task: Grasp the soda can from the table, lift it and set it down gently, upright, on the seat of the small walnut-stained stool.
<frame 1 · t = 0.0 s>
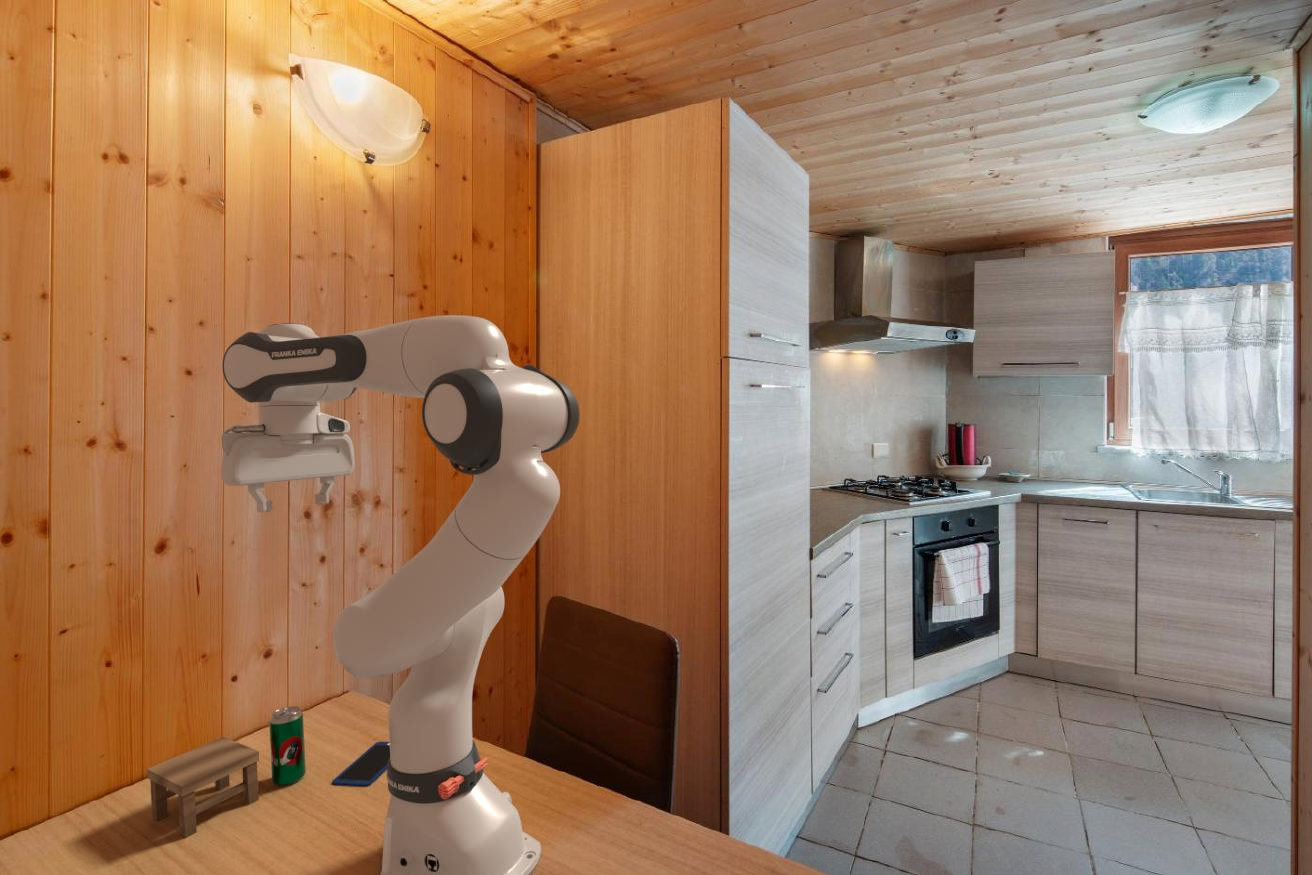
hand: (294, 507, 102), 48 cm above the table, fingers open, 8 cm apart
stool: (206, 808, 100), on the table
cell phone: (373, 766, 112), on the table
soda can: (289, 780, 107), on the table
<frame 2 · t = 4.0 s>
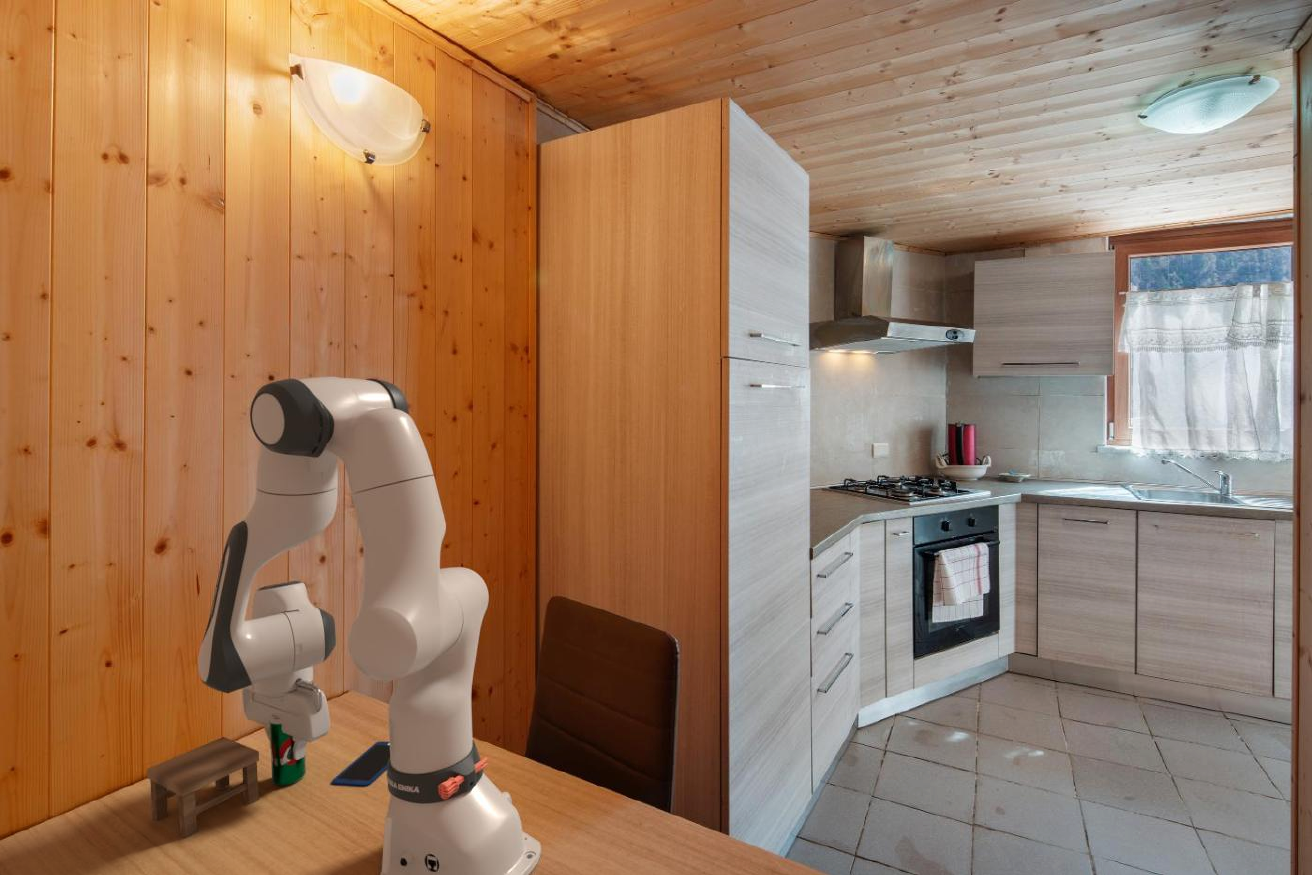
hand: (287, 753, 107), 5 cm above the table, fingers closed on soda can, 5 cm apart
soda can: (289, 780, 107), on the table, touching gripper
everything else where it was.
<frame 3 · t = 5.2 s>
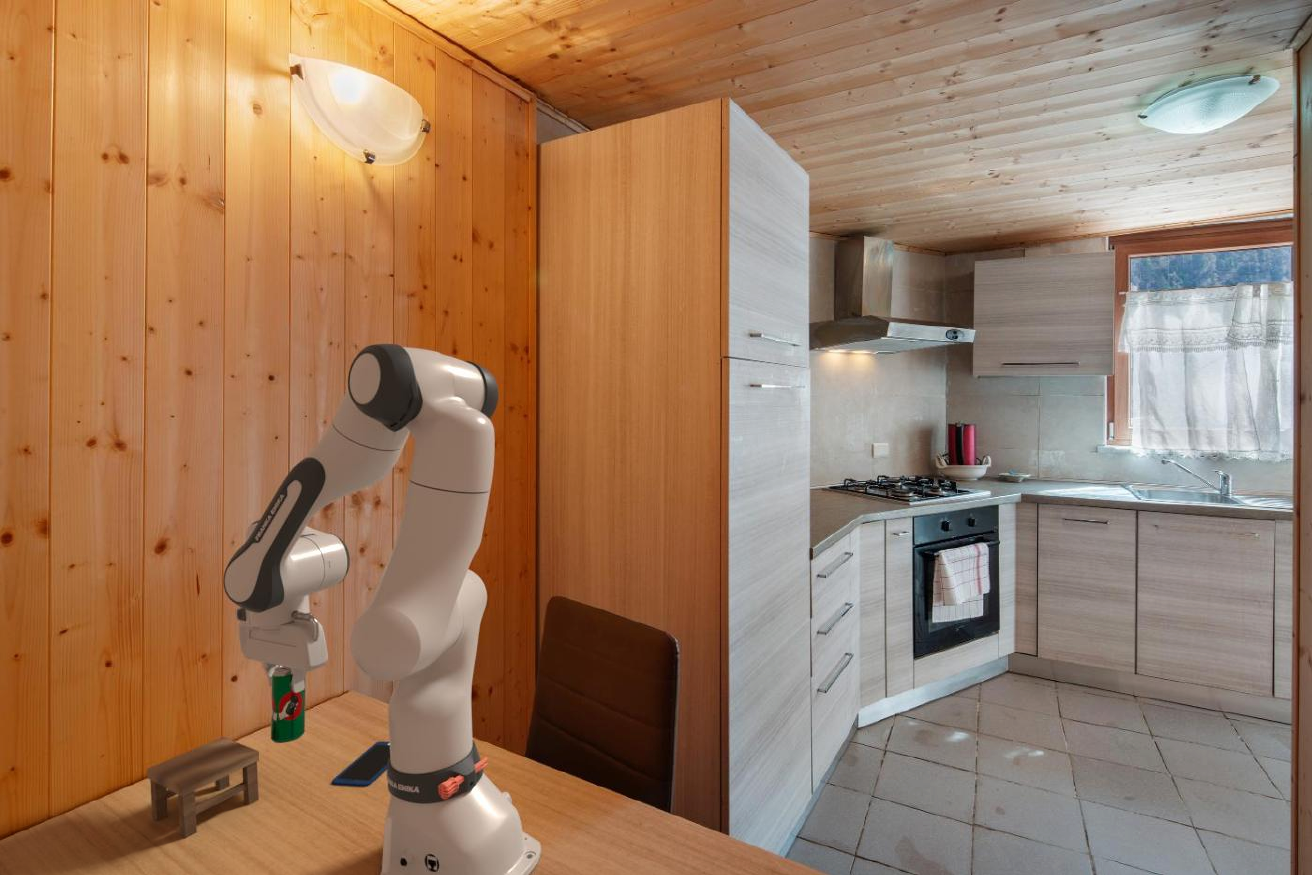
hand: (286, 688, 107), 16 cm above the table, fingers closed on soda can, 5 cm apart
soda can: (287, 739, 106), point 8 cm above the table, touching gripper
everything else where it was.
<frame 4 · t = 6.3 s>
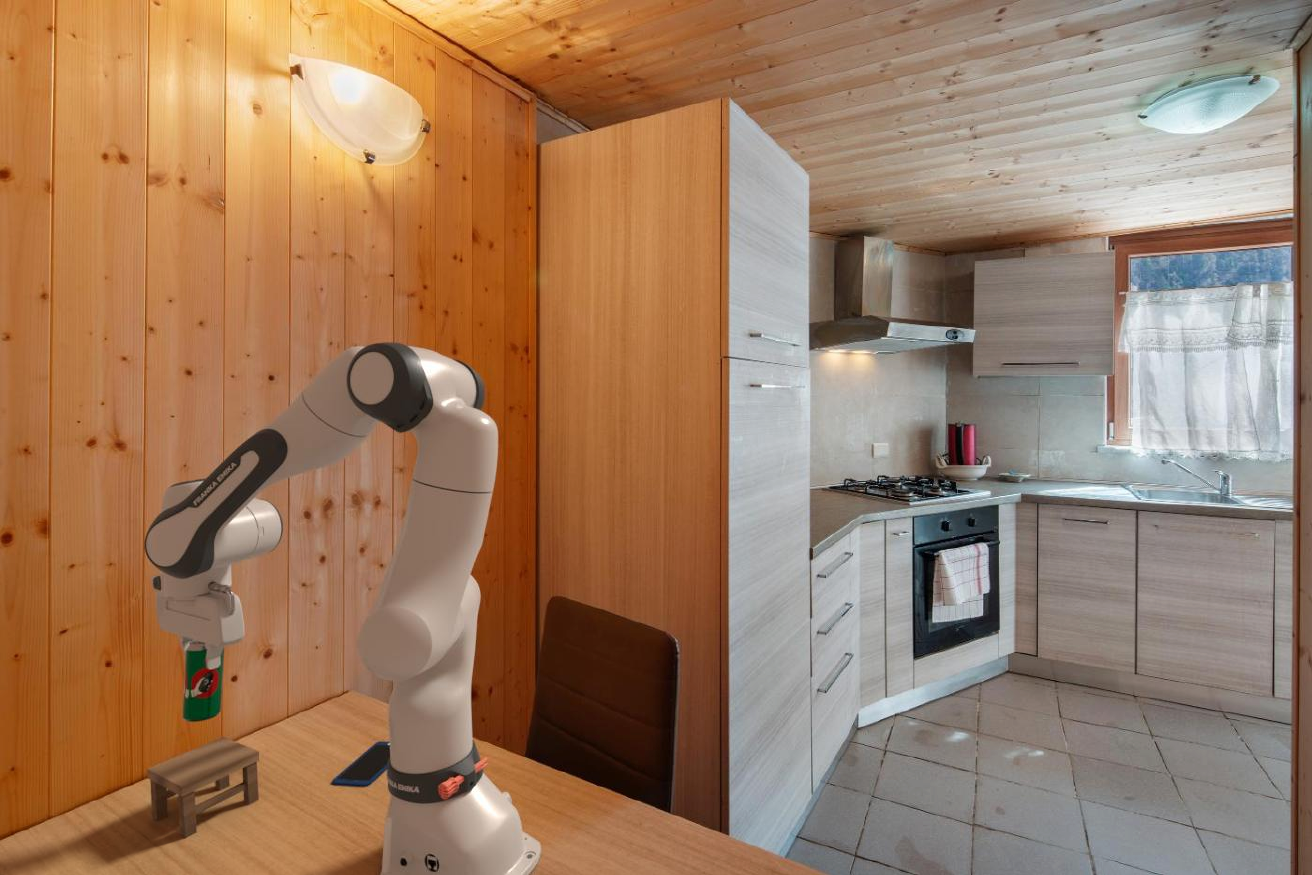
hand: (202, 664, 100), 23 cm above the table, fingers closed on soda can, 5 cm apart
soda can: (201, 718, 99), point 15 cm above the table, touching gripper
everything else where it was.
when the fingers open (16 cm above the table, at t = 7.7 s): soda can stays where it is, resting on stool.
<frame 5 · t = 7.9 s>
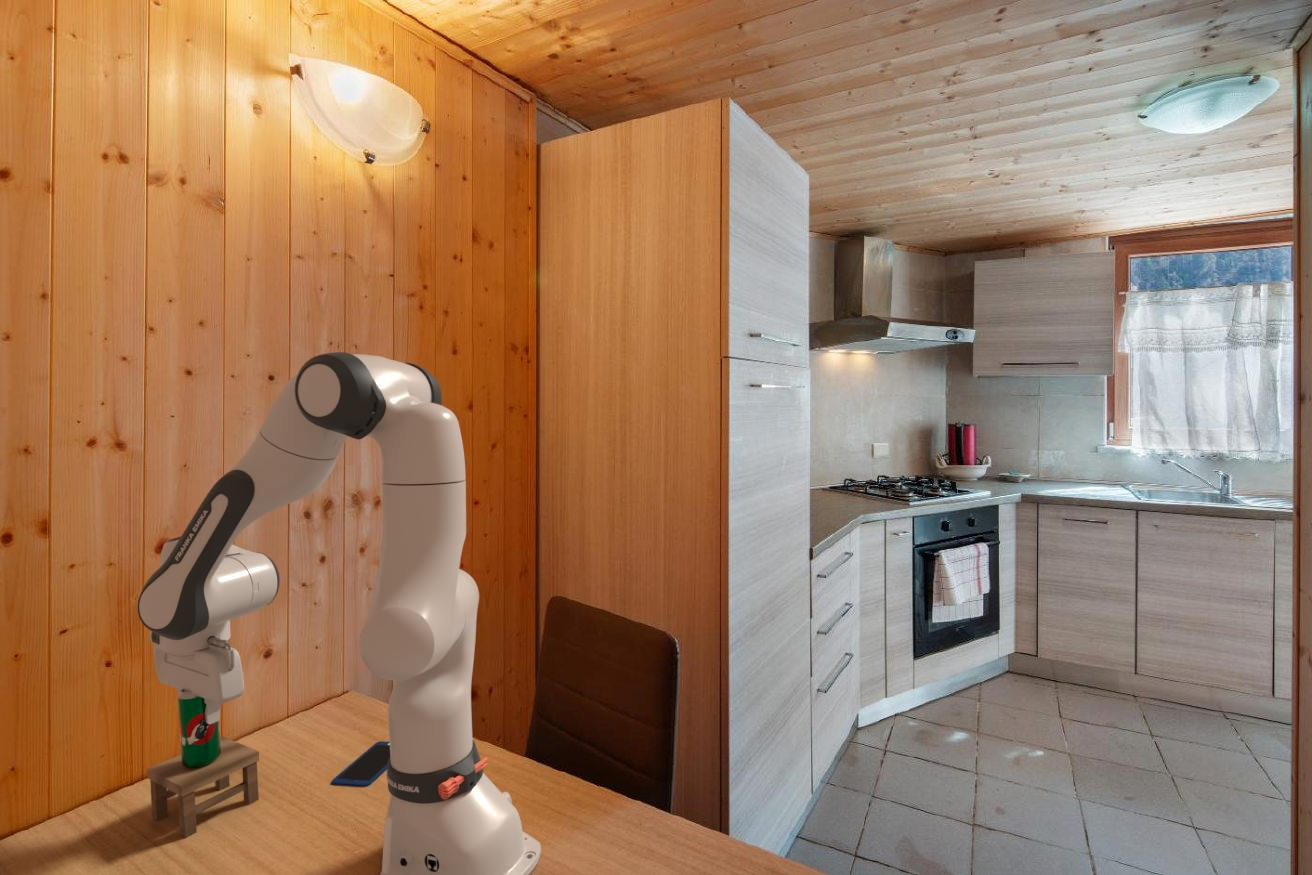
hand: (201, 717, 99), 15 cm above the table, fingers open, 5 cm apart
soda can: (202, 762, 99), point 8 cm above the table, touching gripper, stool
everything else where it was.
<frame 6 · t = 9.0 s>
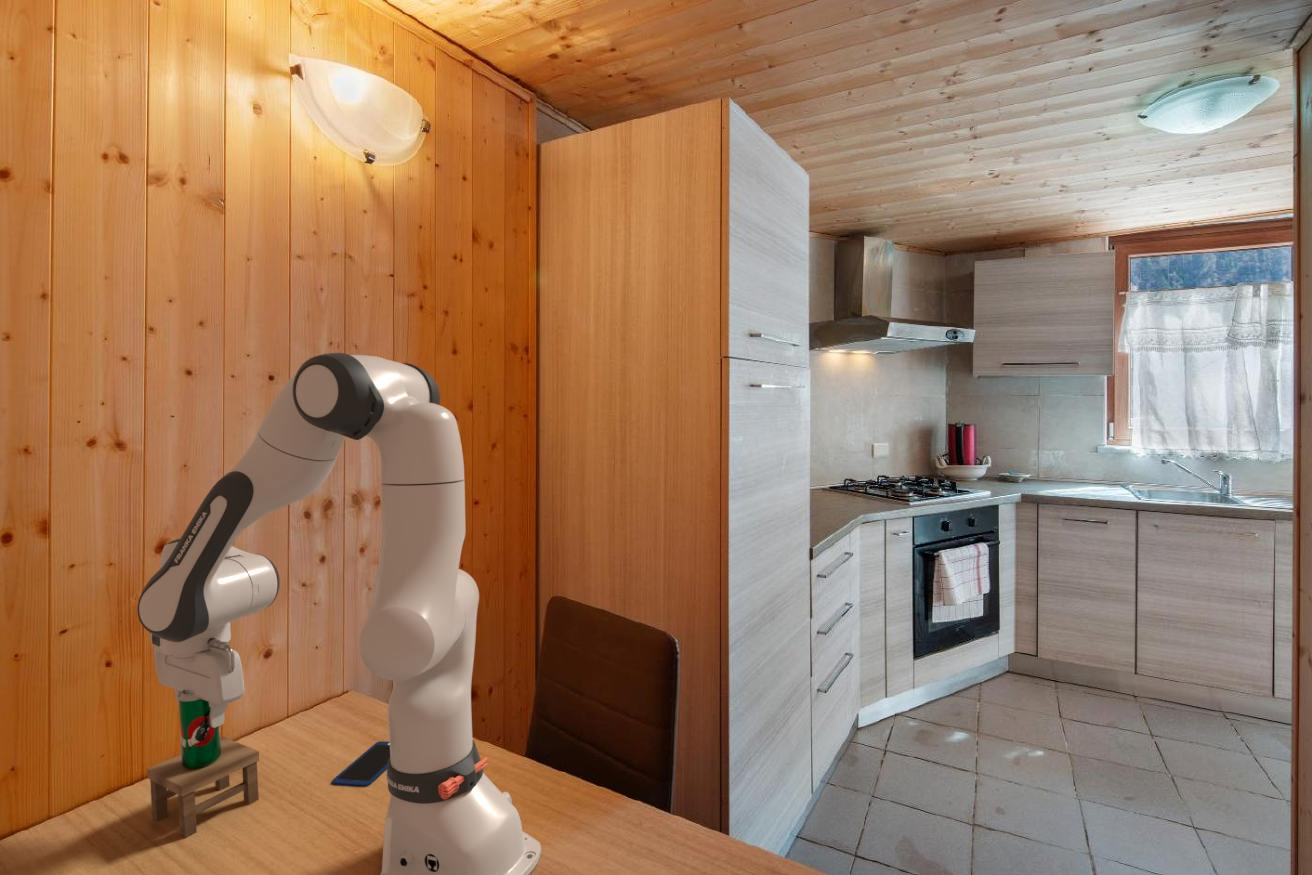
hand: (202, 719, 99), 15 cm above the table, fingers open, 7 cm apart
soda can: (202, 763, 99), point 8 cm above the table, touching stool
everything else where it was.
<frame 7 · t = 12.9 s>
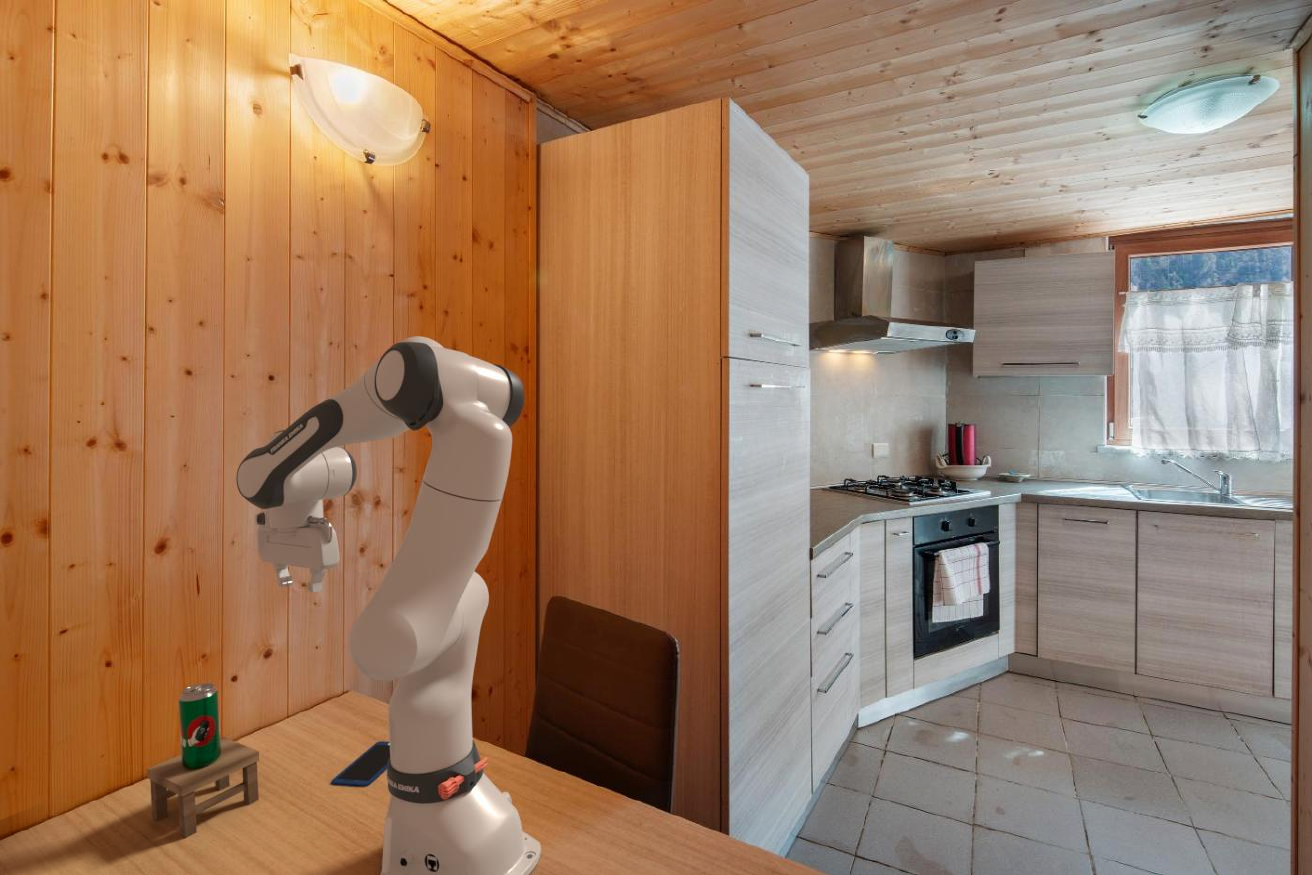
hand: (300, 588, 116), 31 cm above the table, fingers open, 8 cm apart
nothing on the table moved.
at the end: soda can inside the target area on the stool (0.7 cm from its centre), point 7.8 cm above the stool's base; soda can tilted 0°; soda can touching stool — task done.
